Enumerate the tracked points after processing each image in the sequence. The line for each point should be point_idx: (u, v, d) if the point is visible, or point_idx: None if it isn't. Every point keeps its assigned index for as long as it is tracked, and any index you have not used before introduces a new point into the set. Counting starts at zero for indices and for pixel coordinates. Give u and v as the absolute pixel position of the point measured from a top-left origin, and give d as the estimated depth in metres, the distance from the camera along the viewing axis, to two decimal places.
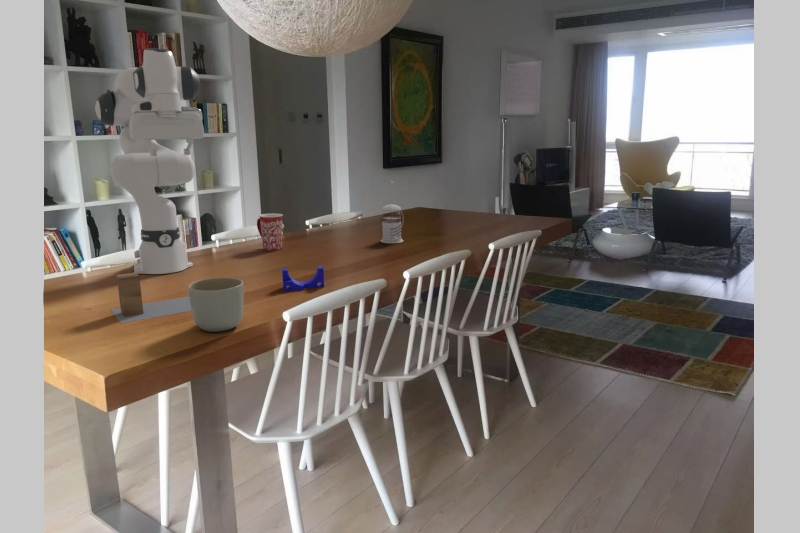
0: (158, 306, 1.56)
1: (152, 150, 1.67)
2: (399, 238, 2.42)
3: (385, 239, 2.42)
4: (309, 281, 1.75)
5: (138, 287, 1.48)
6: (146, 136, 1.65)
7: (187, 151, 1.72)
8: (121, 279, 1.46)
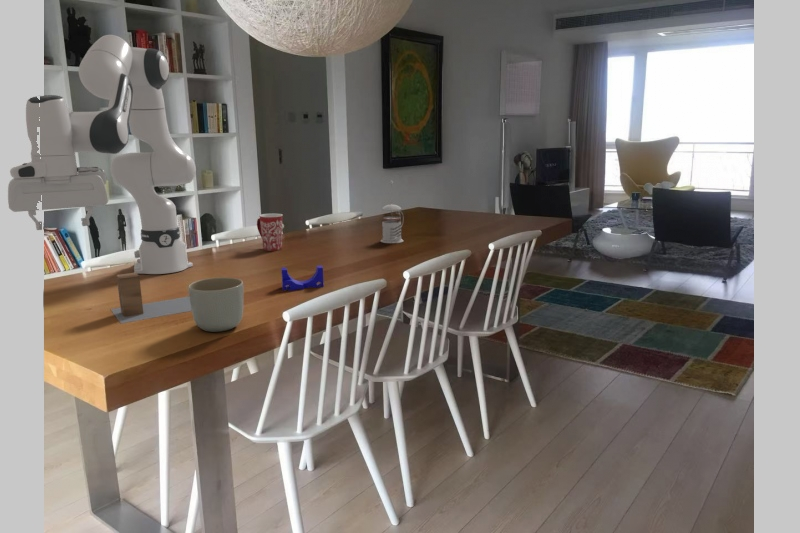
0: (158, 306, 1.56)
1: (37, 223, 1.34)
2: (399, 238, 2.42)
3: (385, 239, 2.42)
4: (308, 280, 1.76)
5: (138, 287, 1.48)
6: (28, 207, 1.32)
7: (85, 222, 1.40)
8: (121, 279, 1.46)
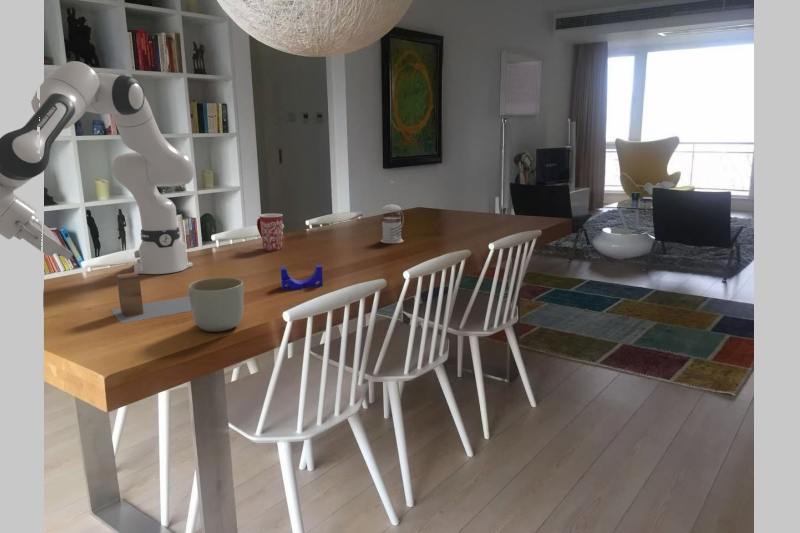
0: (158, 306, 1.56)
1: None
2: (399, 238, 2.42)
3: (385, 239, 2.42)
4: (308, 280, 1.77)
5: (138, 287, 1.48)
6: None
7: None
8: (121, 279, 1.46)
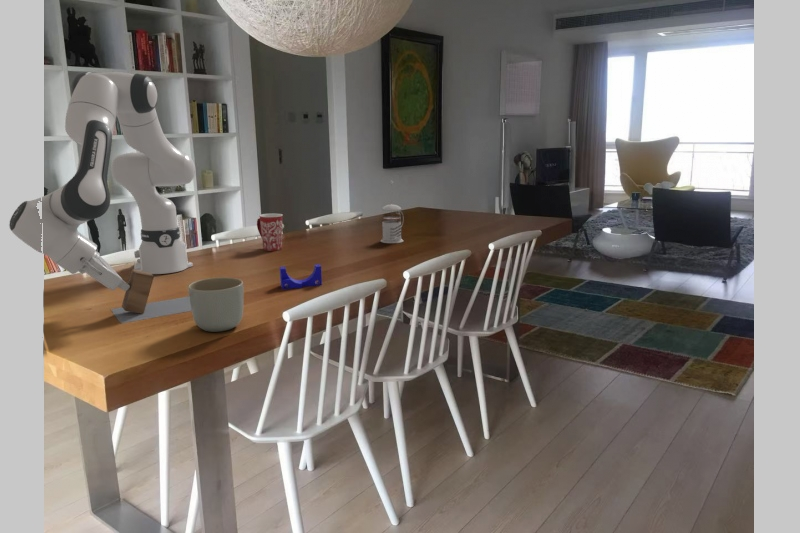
0: (158, 306, 1.56)
1: None
2: (399, 238, 2.42)
3: (385, 239, 2.42)
4: (307, 279, 1.78)
5: (148, 286, 1.50)
6: None
7: (122, 289, 1.48)
8: (136, 274, 1.48)
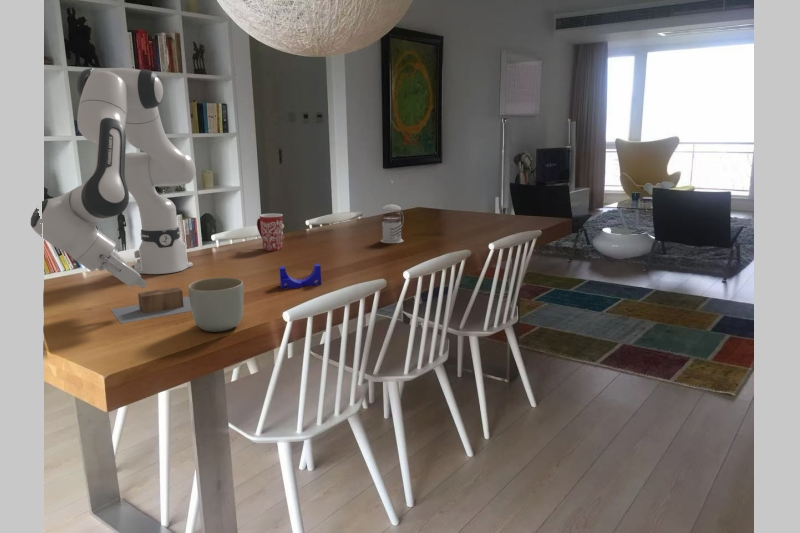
0: None
1: None
2: (399, 238, 2.42)
3: (385, 239, 2.42)
4: (306, 279, 1.78)
5: (172, 307, 1.54)
6: None
7: None
8: (181, 291, 1.55)
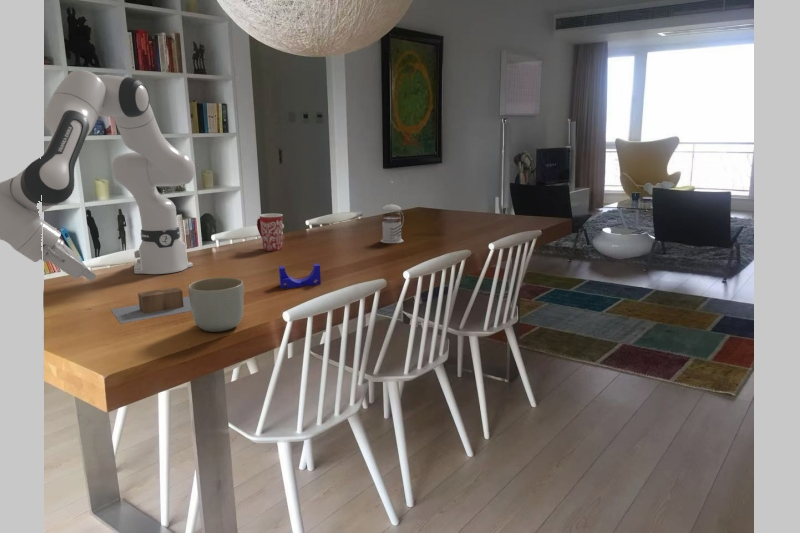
0: None
1: None
2: (399, 238, 2.42)
3: (385, 239, 2.42)
4: (306, 278, 1.79)
5: (172, 307, 1.54)
6: None
7: (88, 278, 1.42)
8: (181, 291, 1.55)
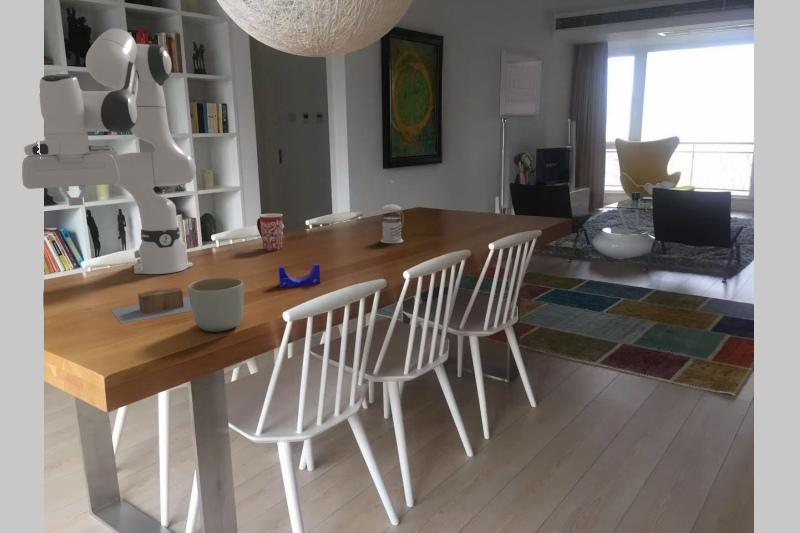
0: None
1: (70, 199, 1.39)
2: (399, 238, 2.42)
3: (385, 239, 2.42)
4: (305, 278, 1.79)
5: (172, 307, 1.54)
6: (42, 185, 1.35)
7: (79, 201, 1.40)
8: (181, 291, 1.55)
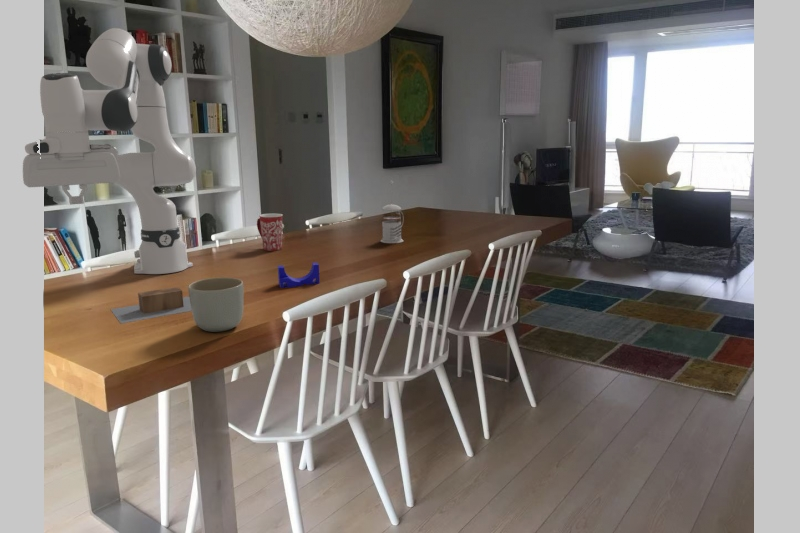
0: None
1: (71, 198, 1.39)
2: (399, 238, 2.42)
3: (385, 239, 2.42)
4: (304, 277, 1.80)
5: (172, 307, 1.54)
6: (43, 183, 1.35)
7: (79, 200, 1.40)
8: (181, 291, 1.55)
